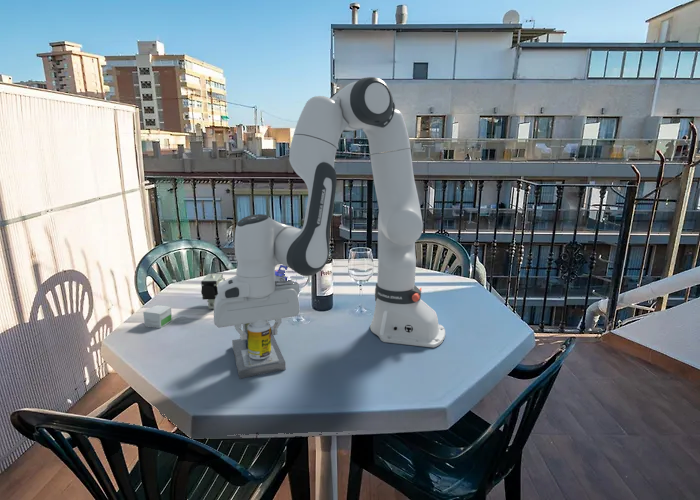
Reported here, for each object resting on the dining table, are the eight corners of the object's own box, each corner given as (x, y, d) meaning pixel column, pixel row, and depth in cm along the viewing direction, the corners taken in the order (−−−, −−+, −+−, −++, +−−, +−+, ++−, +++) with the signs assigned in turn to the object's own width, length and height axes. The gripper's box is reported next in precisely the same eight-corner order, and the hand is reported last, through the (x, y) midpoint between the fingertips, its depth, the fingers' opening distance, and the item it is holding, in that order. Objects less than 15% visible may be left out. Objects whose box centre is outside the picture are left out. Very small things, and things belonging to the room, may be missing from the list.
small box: (160, 328, 113) (159, 313, 112) (144, 326, 114) (142, 311, 113) (173, 320, 118) (171, 306, 117) (157, 318, 119) (155, 304, 118)
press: (285, 369, 93) (284, 320, 90) (239, 378, 89) (236, 328, 86) (272, 340, 107) (271, 297, 104) (232, 346, 103) (229, 302, 100)
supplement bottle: (263, 362, 91) (261, 323, 88) (243, 358, 93) (241, 319, 90) (275, 352, 96) (274, 314, 93) (257, 347, 98) (255, 311, 95)
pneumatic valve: (202, 314, 123) (199, 279, 120) (211, 301, 134) (209, 268, 131) (219, 314, 123) (217, 279, 120) (227, 300, 135) (225, 268, 132)
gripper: (295, 275, 96) (296, 324, 100) (210, 284, 89) (215, 337, 92) (302, 282, 91) (303, 335, 94) (212, 293, 83) (216, 350, 86)
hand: (259, 336), depth 93 cm, fingers open, 6 cm apart
